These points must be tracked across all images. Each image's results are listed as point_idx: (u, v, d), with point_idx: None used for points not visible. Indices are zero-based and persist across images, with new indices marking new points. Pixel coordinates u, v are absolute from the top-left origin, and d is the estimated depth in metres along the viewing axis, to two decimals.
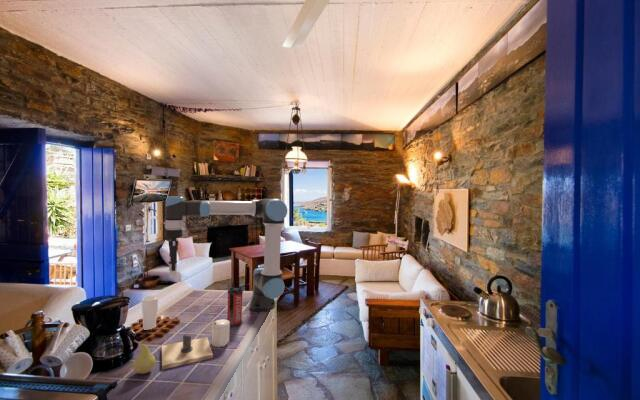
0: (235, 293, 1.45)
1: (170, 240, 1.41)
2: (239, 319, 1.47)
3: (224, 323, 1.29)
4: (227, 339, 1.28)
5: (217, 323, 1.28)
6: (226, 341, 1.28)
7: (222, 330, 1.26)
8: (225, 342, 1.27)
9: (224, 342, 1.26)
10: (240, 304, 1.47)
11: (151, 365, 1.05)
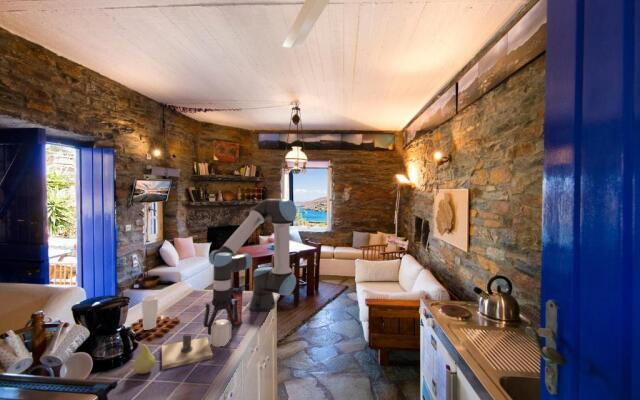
0: (235, 293, 1.45)
1: None
2: (239, 319, 1.47)
3: (224, 323, 1.29)
4: (227, 339, 1.28)
5: (217, 323, 1.28)
6: (226, 341, 1.28)
7: (222, 330, 1.26)
8: (225, 342, 1.27)
9: (224, 342, 1.26)
10: (240, 304, 1.47)
11: (151, 365, 1.05)
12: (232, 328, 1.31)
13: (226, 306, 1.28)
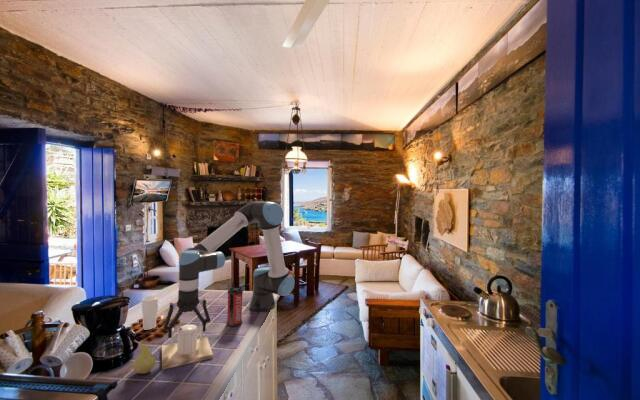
0: (235, 293, 1.45)
1: None
2: (239, 319, 1.47)
3: (191, 329, 1.19)
4: (194, 346, 1.19)
5: (183, 329, 1.19)
6: (192, 348, 1.18)
7: (188, 336, 1.17)
8: (191, 349, 1.18)
9: (189, 349, 1.17)
10: (240, 304, 1.47)
11: (151, 365, 1.05)
12: (204, 329, 1.22)
13: (193, 307, 1.19)
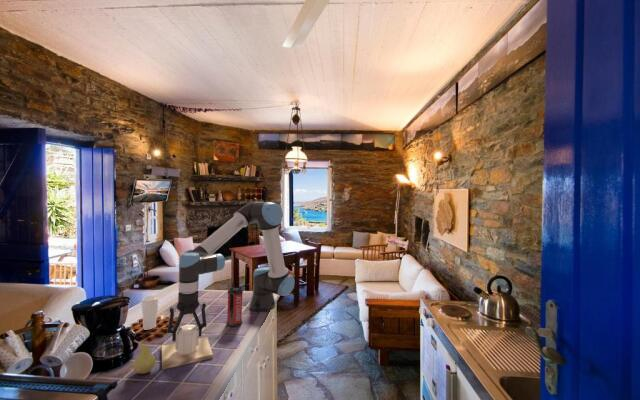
0: (235, 293, 1.45)
1: None
2: (239, 319, 1.47)
3: (190, 328, 1.19)
4: (194, 346, 1.19)
5: (183, 329, 1.19)
6: (192, 348, 1.18)
7: (188, 336, 1.17)
8: (191, 349, 1.18)
9: (190, 349, 1.17)
10: (240, 304, 1.47)
11: (151, 365, 1.05)
12: (200, 334, 1.21)
13: (193, 310, 1.19)
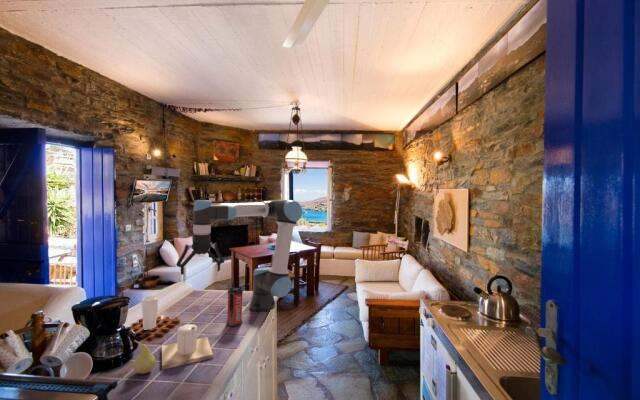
0: (235, 293, 1.45)
1: None
2: (239, 319, 1.47)
3: (186, 326, 1.21)
4: None
5: (190, 328, 1.19)
6: None
7: None
8: None
9: None
10: (240, 304, 1.47)
11: (151, 365, 1.05)
12: (218, 269, 1.36)
13: (207, 250, 1.32)
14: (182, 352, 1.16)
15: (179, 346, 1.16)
